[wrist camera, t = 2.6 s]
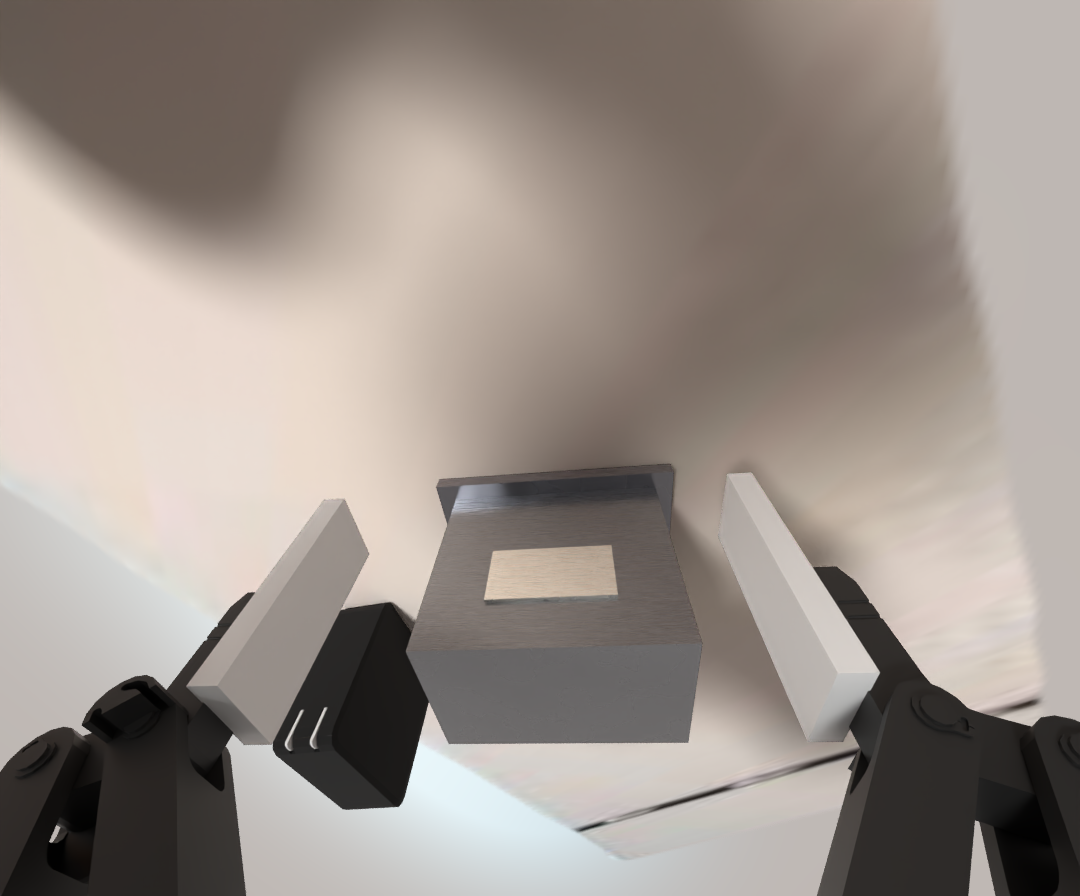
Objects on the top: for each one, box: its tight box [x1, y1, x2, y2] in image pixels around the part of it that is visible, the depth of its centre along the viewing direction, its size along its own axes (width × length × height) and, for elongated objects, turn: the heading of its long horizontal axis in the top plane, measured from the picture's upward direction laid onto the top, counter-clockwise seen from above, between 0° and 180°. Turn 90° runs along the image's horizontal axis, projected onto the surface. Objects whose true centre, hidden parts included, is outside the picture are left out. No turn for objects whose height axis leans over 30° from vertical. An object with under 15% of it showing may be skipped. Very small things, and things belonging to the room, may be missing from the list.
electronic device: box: [273, 603, 429, 810], centre depth 32 cm, size 4×10×10 cm, turn 15°
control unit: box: [406, 464, 702, 744], centre depth 24 cm, size 10×14×11 cm
